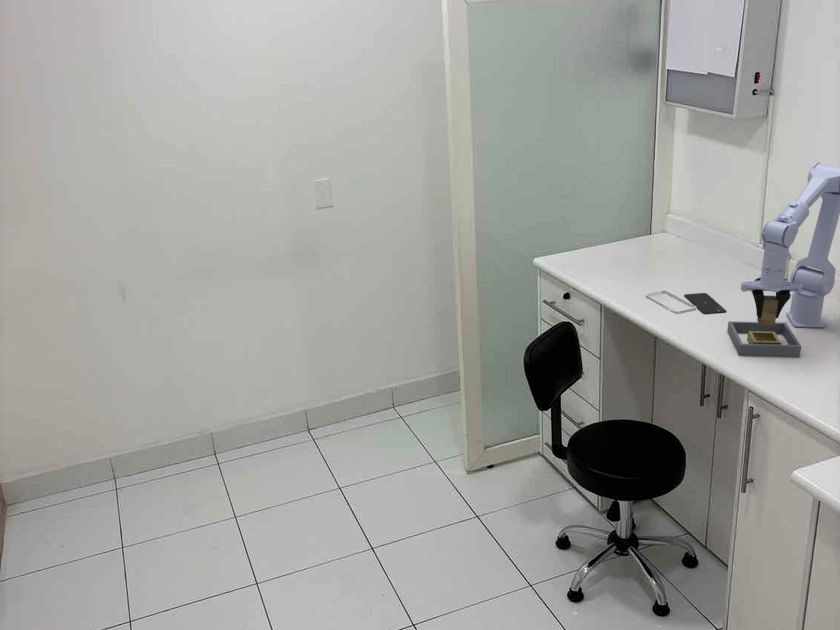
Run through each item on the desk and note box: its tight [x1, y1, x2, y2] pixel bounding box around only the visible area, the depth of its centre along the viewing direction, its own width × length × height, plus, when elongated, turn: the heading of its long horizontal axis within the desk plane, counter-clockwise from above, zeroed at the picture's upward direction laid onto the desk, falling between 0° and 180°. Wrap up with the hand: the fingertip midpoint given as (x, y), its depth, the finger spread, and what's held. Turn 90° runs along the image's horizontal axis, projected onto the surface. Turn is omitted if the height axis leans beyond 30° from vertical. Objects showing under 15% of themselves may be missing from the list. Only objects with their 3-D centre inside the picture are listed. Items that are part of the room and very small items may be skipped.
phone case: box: [645, 290, 697, 315], centre depth 253 cm, size 7×1×15 cm
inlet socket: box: [746, 331, 782, 345], centre depth 225 cm, size 7×7×2 cm
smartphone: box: [683, 292, 727, 315], centre depth 252 cm, size 7×1×15 cm
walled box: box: [726, 320, 802, 358], centre depth 226 cm, size 15×15×3 cm
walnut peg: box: [756, 295, 778, 326], centre depth 222 cm, size 4×4×7 cm
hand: (767, 316), depth 222 cm, fingers closed on walnut peg, 4 cm apart
